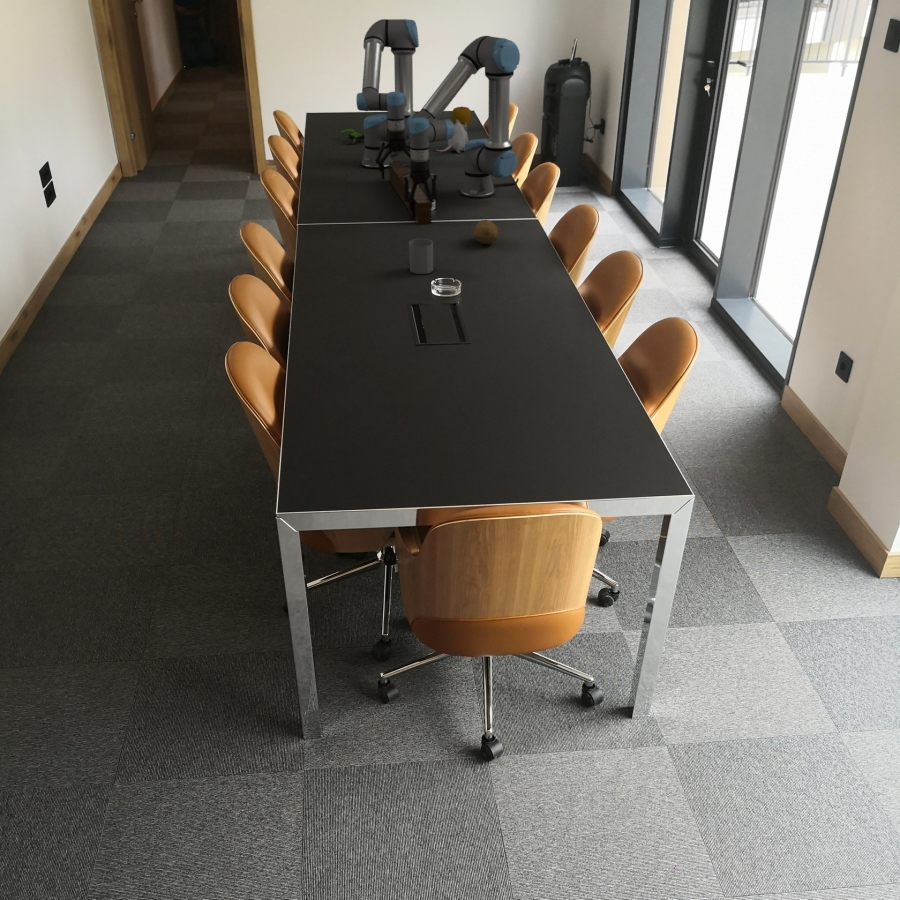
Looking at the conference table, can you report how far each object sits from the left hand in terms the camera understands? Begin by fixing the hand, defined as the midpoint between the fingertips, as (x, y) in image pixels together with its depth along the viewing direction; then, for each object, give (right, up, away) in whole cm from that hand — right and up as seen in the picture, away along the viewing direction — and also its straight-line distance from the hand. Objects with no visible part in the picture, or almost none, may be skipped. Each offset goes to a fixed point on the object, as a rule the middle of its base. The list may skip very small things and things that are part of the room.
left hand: (397, 178), depth 397 cm
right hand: (+12, -28, -39) cm, 50 cm away
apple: (+30, +56, +94) cm, 114 cm away
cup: (+14, -61, -88) cm, 108 cm away
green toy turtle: (-21, +42, +71) cm, 85 cm away
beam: (+6, -16, -18) cm, 25 cm away
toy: (+25, +29, +51) cm, 64 cm away
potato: (+37, -45, -64) cm, 87 cm away
